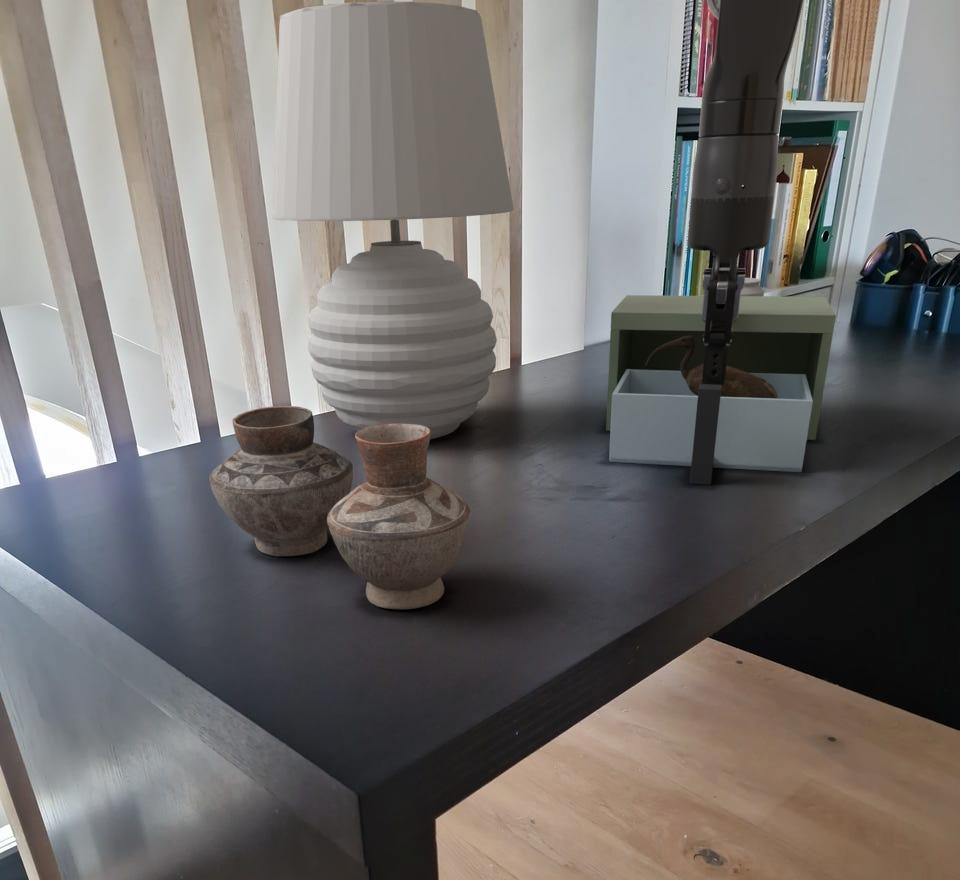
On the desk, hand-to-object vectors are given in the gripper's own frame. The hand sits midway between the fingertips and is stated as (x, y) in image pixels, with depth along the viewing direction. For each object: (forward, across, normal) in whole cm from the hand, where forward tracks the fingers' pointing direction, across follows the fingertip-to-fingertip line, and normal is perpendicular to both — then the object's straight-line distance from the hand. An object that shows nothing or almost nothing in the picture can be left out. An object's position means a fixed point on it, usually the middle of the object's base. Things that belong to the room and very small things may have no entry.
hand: (713, 379), depth 88 cm
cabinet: (+7, +13, 0) cm, 15 cm away
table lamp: (+8, +2, +35) cm, 35 cm away
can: (+8, +47, -2) cm, 48 cm away
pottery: (+8, -37, +26) cm, 46 cm away
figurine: (+5, 0, 0) cm, 5 cm away
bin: (+7, -3, 0) cm, 8 cm away
